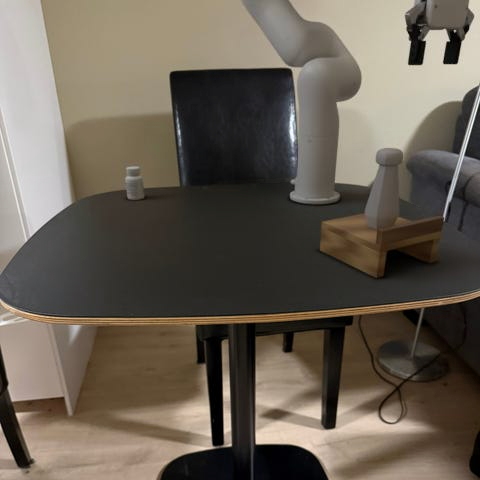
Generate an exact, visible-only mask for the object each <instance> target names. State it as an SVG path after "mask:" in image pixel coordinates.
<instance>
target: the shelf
mask: <svg viewBox="0 0 480 480" xmlns="http://www.w3.org/2000/svg"><path fill="white" fill-rule="evenodd" d="M444 222H445V216H441V215H435V216H431V217H427V218H421V219H418V220H413V221H412V220H409V219H407V218H403V217H401V216H398V218H397V220H396V222H395V223H394V225H393V226H390V227H385V228H381V229H374V228H371V227H369V226H368V222H367V219H366V216H365V212H364V213H358V214H354V215H353V214H352V215H348V216H343V217H338V218H333V219H329V220H323V221H321V229H320V240H319V241H320V244H319V251H320V252H322V253H324V254H326V255H328V256H330V257H332V258H334V259H336V260H338V261H339V262H340V261H341V262H343V263H344V264H347V265H349V266H350V267H353V268H355V269H357V270H359V271H361V272H363V273H365V274H366V275H369V276H371V277H373V278H375V279H378V278H381V277H382V278H383V277H384V274H385V267H386V261H387V253H388V252H389V251H392V250H395V251H398V252H400V253H402V254H403V253H404V254H406V255H408V256H409V257H412V258H416V259H418V260H420V261H423V262H425V263H428V264H432V263H435V262H436V261H437V256H438V251H439V247H440V241H441V237H442V231H443V228H444V227H443V226H444Z"/></svg>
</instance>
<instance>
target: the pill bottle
mask: <svg viewBox="0 0 480 480" xmlns="http://www.w3.org/2000/svg"><path fill="white" fill-rule="evenodd" d="M125 173H126V176H125V178H124V181H125V186H126V187H125V189H126V197H127V199H128V200H131V201H138V200H143V199H145V187H144V178H143V176H142V175H140V174H141V168H140V166H136V165H135V166H127V167H125Z"/></svg>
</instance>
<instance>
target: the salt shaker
mask: <svg viewBox="0 0 480 480" xmlns="http://www.w3.org/2000/svg"><path fill="white" fill-rule="evenodd" d="M403 159H404V152H403V151H402V150H401V149H399V148H396V147H383V148H379V149H378V150H377V151H376V154H375V163H376V164H377V165H379V166H378V168H377V171H376V174H375V177H374V181H373V183H372V187H371V190H370V193H369V195H368V196H369V197H368V199H367V202H366V206H365V207H364V208H365V209H364V213H365V216H366V219H367V222H368V226H369V227H371V228H374V229H381V228H385V227H390V226H393V225H394V223H395V222H396V220H397V218H398V217H400V183H399V181H400V180H399V165H401V164H402V163H403Z"/></svg>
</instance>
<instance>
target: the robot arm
mask: <svg viewBox="0 0 480 480" xmlns="http://www.w3.org/2000/svg"><path fill="white" fill-rule="evenodd" d="M240 1H241V3H242V5H243V6H244V8H245V9H246V12H248V14H249V15H250V17H251V18H252V19H253V21H254V22H255V23H256V24H257V25H258V27H259V29H260V30H261V31H262V33H263V35H264V36H265V38H266V39H267V40H268V42H269V43H270V44H271V46H272V47H273V49H274V50H275V52H276V53H277V55H278V56H279V58H280V59H281V60H282V62H283V63H284V64H285V65H286V66H288V67H291V68H301V69H300V70H299V73H298V75H297V78H296V94H297V102H298V115H299V116H298V143H297V162H296V163H297V166H296V167H297V168H296V177H294V178H292V179H291V180H290V184H291V185H294V190H293V191H291V192H290V193H289V198H290V200H291V201H293V202H296V203H299V204H304V205H305V204H306V205H328V204H334V203H336V202H338V201H340V197H341V194H340V193H339V192H338V191H335V185H336V174H337V173H336V172H337V161H338V148H339V138H340V137H339V136H340V114H339V108H338V104H337V103H342V102H346V101H349V100H351V99H352V98H354V97H355V96H356V95H357V94H358V92H359V90H360V89H361V86H362V79H363V77H362V71H361V68H360V66H359V64H358V62H357V60H356V59H355V58H354V56H353V55H352V53H351V52H350V51H349V49H348V47H346V45H345V43H344V42H343V41H342V40H341V38H340V37H339V35H338V34H337V33H336V31H335V30H334V29H333V28H332V27H330V26H329V25H327V23H325V22H321V21H313V20H312V21H311V20H307V19H305V18H303V17H302V15H301V14H299V12H298V11H297V9H296V8H295V7H294V5H293V4H292V2H291V1H290V0H240ZM469 4H470V0H414V3H413V7H411V8H410V9H408V10H407V11H406V12H405V13H404V20H405V25H406V29H405V30H406V33H407V35H408V41H409V42H410V46H409V53H408V59H407V65H408V66H422V65H424V59H425V53H426V46H427V40H425V38H426V37H427V35H428V34H429V32H430V31H443V30H445V31H446V34H447V37H448V41H446V42H445V47H444V53H443V60H442V65H458V63H459V59H460V54H461V50H462V43H463V41H464V40H465V39H466V35H467V34H468V33H469V31H470V27H471V25H472V24H473V21H474V19H475V14H474V12H473V11H472V10H471V9H470V8H469Z"/></svg>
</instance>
